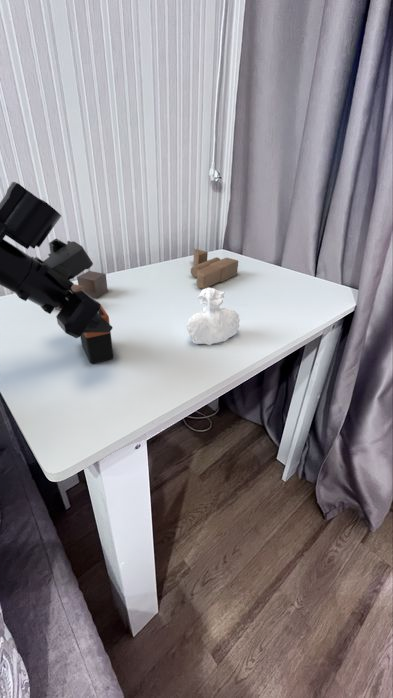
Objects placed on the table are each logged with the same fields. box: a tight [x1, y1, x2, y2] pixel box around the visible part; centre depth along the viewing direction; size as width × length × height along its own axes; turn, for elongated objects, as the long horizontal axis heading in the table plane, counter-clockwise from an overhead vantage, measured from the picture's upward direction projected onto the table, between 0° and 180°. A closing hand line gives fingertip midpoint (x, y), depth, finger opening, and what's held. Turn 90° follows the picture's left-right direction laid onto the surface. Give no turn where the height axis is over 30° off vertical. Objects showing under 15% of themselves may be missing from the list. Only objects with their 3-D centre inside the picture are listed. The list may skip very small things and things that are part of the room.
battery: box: [79, 301, 114, 365], centre depth 60 cm, size 4×7×10 cm, turn 29°
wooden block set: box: [190, 248, 239, 290], centre depth 99 cm, size 17×6×18 cm
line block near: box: [54, 283, 84, 312], centre depth 77 cm, size 5×5×5 cm
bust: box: [185, 287, 241, 346], centre depth 68 cm, size 12×8×11 cm
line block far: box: [76, 270, 109, 300], centre depth 84 cm, size 5×5×5 cm
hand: (100, 320), depth 60 cm, fingers open, 8 cm apart
